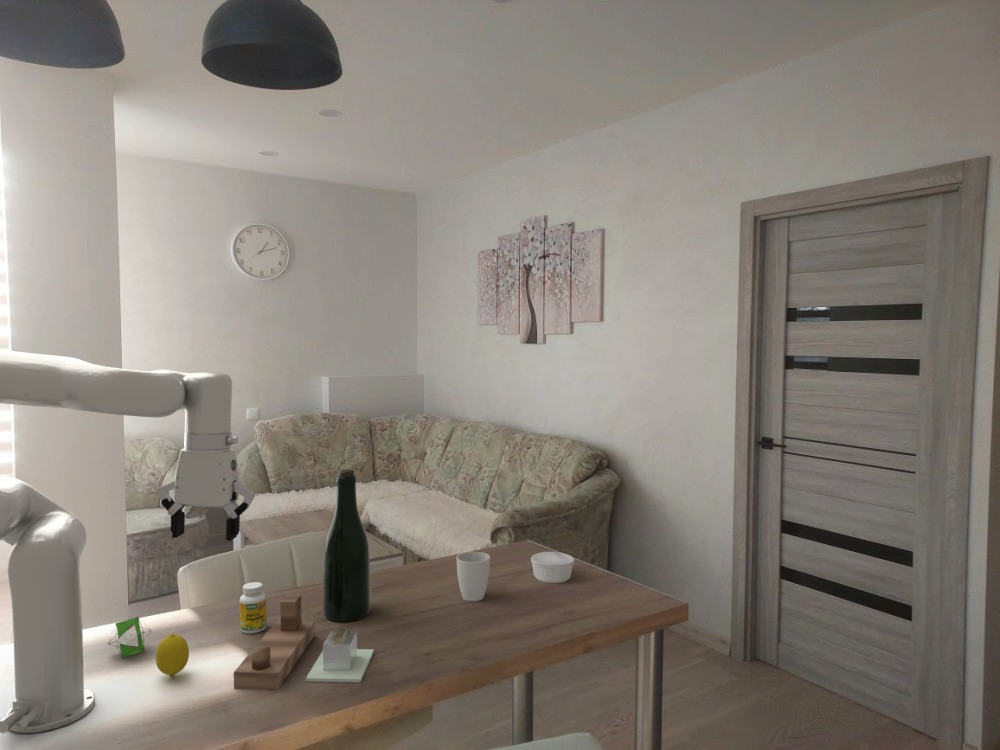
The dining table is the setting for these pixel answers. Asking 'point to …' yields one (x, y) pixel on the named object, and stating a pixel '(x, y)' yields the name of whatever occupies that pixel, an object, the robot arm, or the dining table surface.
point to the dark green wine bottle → (346, 557)
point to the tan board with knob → (276, 649)
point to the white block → (340, 650)
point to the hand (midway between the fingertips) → (204, 537)
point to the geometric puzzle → (129, 637)
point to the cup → (473, 574)
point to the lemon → (172, 654)
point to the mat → (341, 676)
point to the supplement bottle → (253, 608)
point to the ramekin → (552, 566)
